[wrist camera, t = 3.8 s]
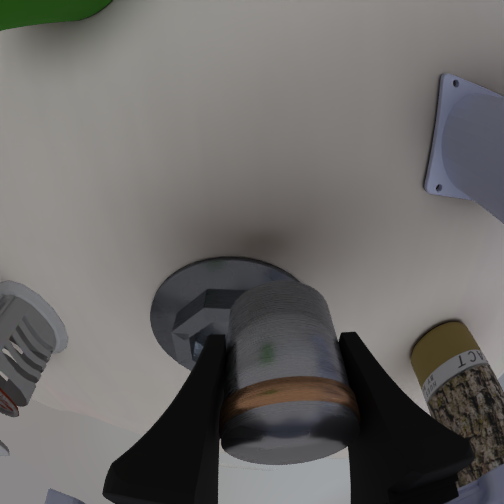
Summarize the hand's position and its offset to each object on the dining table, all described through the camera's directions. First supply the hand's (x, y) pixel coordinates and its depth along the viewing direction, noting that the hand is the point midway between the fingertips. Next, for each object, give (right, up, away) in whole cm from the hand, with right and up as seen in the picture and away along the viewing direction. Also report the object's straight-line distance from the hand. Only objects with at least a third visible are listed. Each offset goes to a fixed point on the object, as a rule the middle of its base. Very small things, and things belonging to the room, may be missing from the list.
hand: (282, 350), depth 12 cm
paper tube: (+17, -5, +14) cm, 22 cm away
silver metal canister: (0, +1, +2) cm, 2 cm away
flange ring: (-3, -2, +12) cm, 12 cm away
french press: (-24, -2, +12) cm, 27 cm away
